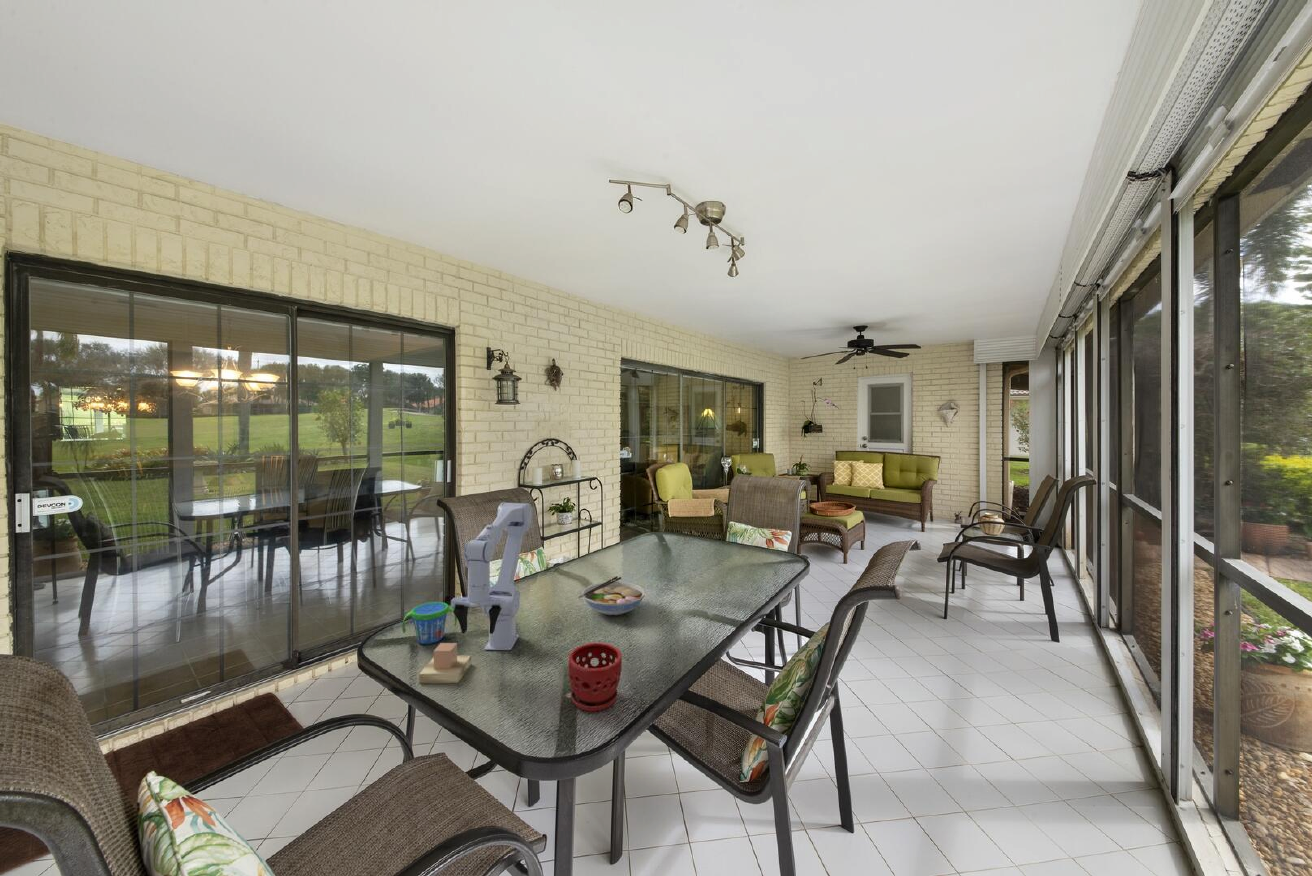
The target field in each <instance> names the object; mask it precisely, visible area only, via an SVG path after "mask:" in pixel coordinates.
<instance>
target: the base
mask: <svg viewBox="0 0 1312 876" xmlns="http://www.w3.org/2000/svg"><path fill="white" fill-rule="evenodd" d="M471 665H472V655H468V654H467V655H466V654H465V655H464V654H463V655H458V654H457V662H456V663H455V664H454V666H453V667H452V668H451V669H434V657H432V659H431V660H430V661H429V662H428V663H427V664H426V665H425V666H424V668H422V670H421V671H420V672H419V674H418V676H419V677H418V683H419V684H458V683H460V681H461V679H462V678H463V676H464V675H465V673H466V672H467V671H468V669H469V668H470V666H471Z"/></svg>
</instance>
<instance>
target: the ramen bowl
mask: <svg viewBox="0 0 1312 876" xmlns="http://www.w3.org/2000/svg"><path fill="white" fill-rule="evenodd" d="M619 580H620V581H619ZM621 580H622V576H617V575H616V576H614V577H612V578H611V579H608V580H607V581H603V582H597V583H594V584H591V585H588V586H587V587H585V588H584V589H583V590H582V592H581V593H582V594H581V595H580V596H578V597H577V599H581V598H584V599H583V600H584V601H585V602H586V603H587V604H588V605H589V606H590V607H591V609H592V610H594V611H596V612H598V613H600V614H604V615H606V616H611V615H615V616H620V615H622V614H626V613H629V612H631V611H633V610H634V609H635V608H637V607H638V606H639V604H640V603H642V600H643V599H644V597H645V594H646V590H645V588H643V587H642V586H641V585H638V584H636V583H634V582H633V583H632V582H629V581H628V582H627V581H621Z"/></svg>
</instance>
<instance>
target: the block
mask: <svg viewBox="0 0 1312 876" xmlns="http://www.w3.org/2000/svg"><path fill="white" fill-rule="evenodd" d="M457 655H458V643H457V642H440V643H439V644H438V645H437V647H436V648H435V649H434V650H433V658H434V669H451V668H452V667H453V666H454V664H455V663H456V662H457Z"/></svg>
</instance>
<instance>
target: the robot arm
mask: <svg viewBox="0 0 1312 876" xmlns="http://www.w3.org/2000/svg"><path fill="white" fill-rule="evenodd" d="M496 515H497V516H496V517H495V519H494V521H493V522H492V524H487V525H486V526H485V527H484V528H483V529H482V531H481V532H480V533H479V534H478V535H477V536H476V538H475V539H471V540H469V541H468V542H467V543H466V544H465V547H464V551H463V559H464V560H465V567H466V568H467V596H463V597H462V596H461V597H453V598H452V599H451V600H450V607H452V608H453V609H454V610H453V615H454V614H455V615H454V617H455V616H456V617H457V622H458V623H459V626H460V630H461V634H466V632H467V631H468V611H469V607H471V608H472V607H473V608H476V607H481V608H482V611H483V613H484V614H483V615H485V616H486V619H488V642H487V644H486V645H485V647H484V650H485V651H510V650H512V648H513V647H514V645H515V644H516V641H517V640H518V638H519V634H516V621H517V620H516V614H518V613H519V609H520V603H521V602H520V598H521V592H520V590H519V589H518V588H517V587H516V586H515V585H514V582H515V577H516V572H517V567H518V565H519V564H518V563H519V558H520V554H521V550H522V549H521V548H522V545H523V542H524V541H523V540H524V536H525V533H526V532H528V531H529V530H530V527H531V525H532V519H533V508H532V505H531V504H530V503H522V502H521V503H519V502H506V501H502V502H501V503H500V504H499V505H498V507H497V514H496ZM503 531H505V532H507V538H506V542H505V547H504V551H503V556H502V561H501V564H500V569H499V573H498V578H497V581H496V583H494V584H492V585H490V581H491V580H490V579H491V578H490V573H491V572H490V571H491V569H490V568H491V560H493V557H494V554H495V551H496V547H497V545H498V543H499V542H500V541H501V539H502V538H503V536H504V535H503Z"/></svg>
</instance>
